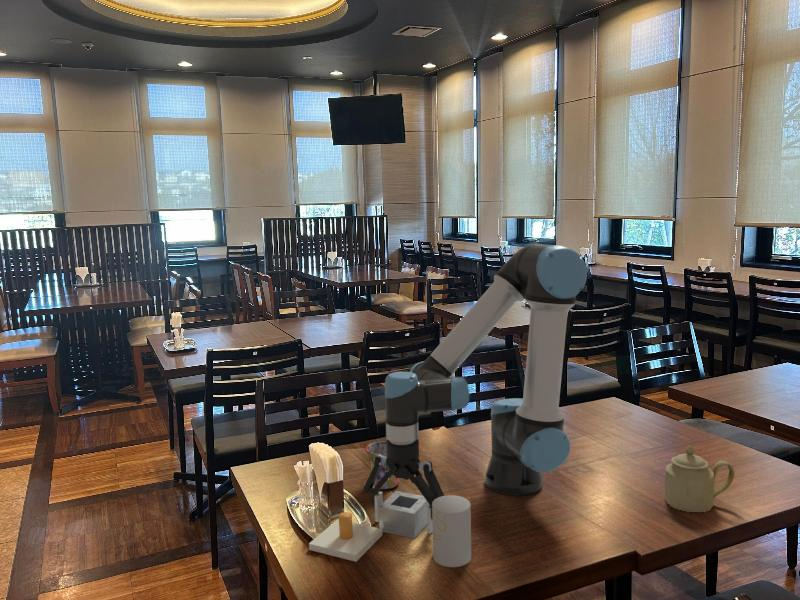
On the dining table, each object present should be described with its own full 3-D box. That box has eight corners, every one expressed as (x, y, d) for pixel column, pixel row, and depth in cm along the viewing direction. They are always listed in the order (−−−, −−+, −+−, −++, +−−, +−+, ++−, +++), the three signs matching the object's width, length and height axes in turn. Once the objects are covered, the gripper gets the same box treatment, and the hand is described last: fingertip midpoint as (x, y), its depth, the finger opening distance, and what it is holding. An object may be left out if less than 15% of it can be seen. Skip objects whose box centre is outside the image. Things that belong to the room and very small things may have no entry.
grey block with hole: (430, 520, 152) (429, 497, 151) (414, 538, 144) (414, 513, 143) (396, 513, 156) (396, 490, 155) (379, 530, 148) (378, 506, 147)
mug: (404, 489, 169) (403, 451, 168) (370, 494, 167) (369, 456, 166) (393, 471, 181) (392, 436, 179) (361, 476, 179) (360, 440, 177)
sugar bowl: (699, 487, 166) (701, 432, 163) (735, 505, 155) (738, 446, 153) (654, 498, 160) (656, 441, 158) (688, 517, 150) (690, 456, 148)
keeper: (382, 535, 146) (381, 508, 145) (356, 561, 135) (355, 533, 134) (337, 525, 151) (336, 499, 150) (309, 549, 141) (307, 522, 140)
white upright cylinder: (430, 547, 140) (429, 496, 138) (467, 545, 141) (466, 494, 139) (436, 568, 132) (434, 514, 130) (474, 565, 133) (473, 511, 131)
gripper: (458, 441, 145) (459, 528, 148) (363, 427, 156) (366, 508, 159) (446, 452, 138) (447, 543, 141) (347, 437, 149) (351, 521, 152)
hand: (404, 525), depth 150 cm, fingers open, 13 cm apart
